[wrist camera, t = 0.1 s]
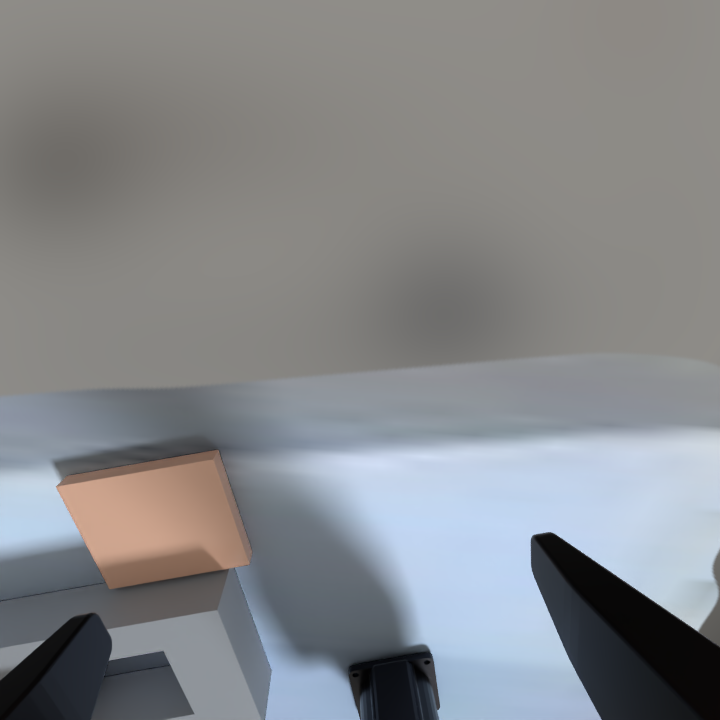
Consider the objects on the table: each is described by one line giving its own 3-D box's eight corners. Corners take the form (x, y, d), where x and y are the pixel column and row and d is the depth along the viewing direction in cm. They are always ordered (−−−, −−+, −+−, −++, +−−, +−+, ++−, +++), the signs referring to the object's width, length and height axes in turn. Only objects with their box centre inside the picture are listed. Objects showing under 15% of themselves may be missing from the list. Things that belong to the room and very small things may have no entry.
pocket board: (271, 671, 30) (264, 726, 27) (37, 712, 30) (1, 773, 27) (231, 560, 26) (217, 610, 23) (-38, 607, 26) (-91, 664, 23)
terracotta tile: (252, 552, 26) (249, 564, 25) (117, 575, 26) (109, 589, 25) (218, 449, 23) (213, 459, 23) (67, 475, 23) (56, 486, 23)
